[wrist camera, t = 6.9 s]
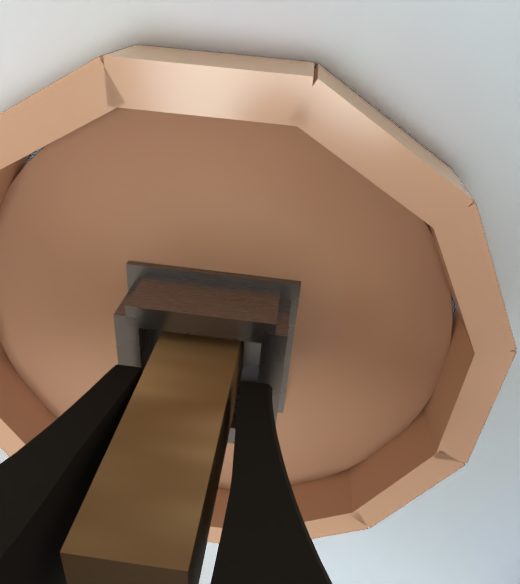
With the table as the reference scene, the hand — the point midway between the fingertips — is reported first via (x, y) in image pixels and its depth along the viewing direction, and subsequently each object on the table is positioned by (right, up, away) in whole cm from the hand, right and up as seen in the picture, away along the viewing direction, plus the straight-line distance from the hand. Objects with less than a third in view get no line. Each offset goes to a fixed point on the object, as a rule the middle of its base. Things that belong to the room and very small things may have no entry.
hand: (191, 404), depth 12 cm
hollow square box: (0, +2, +3) cm, 3 cm away
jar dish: (0, +2, +3) cm, 3 cm away
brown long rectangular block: (0, +1, +2) cm, 2 cm away
